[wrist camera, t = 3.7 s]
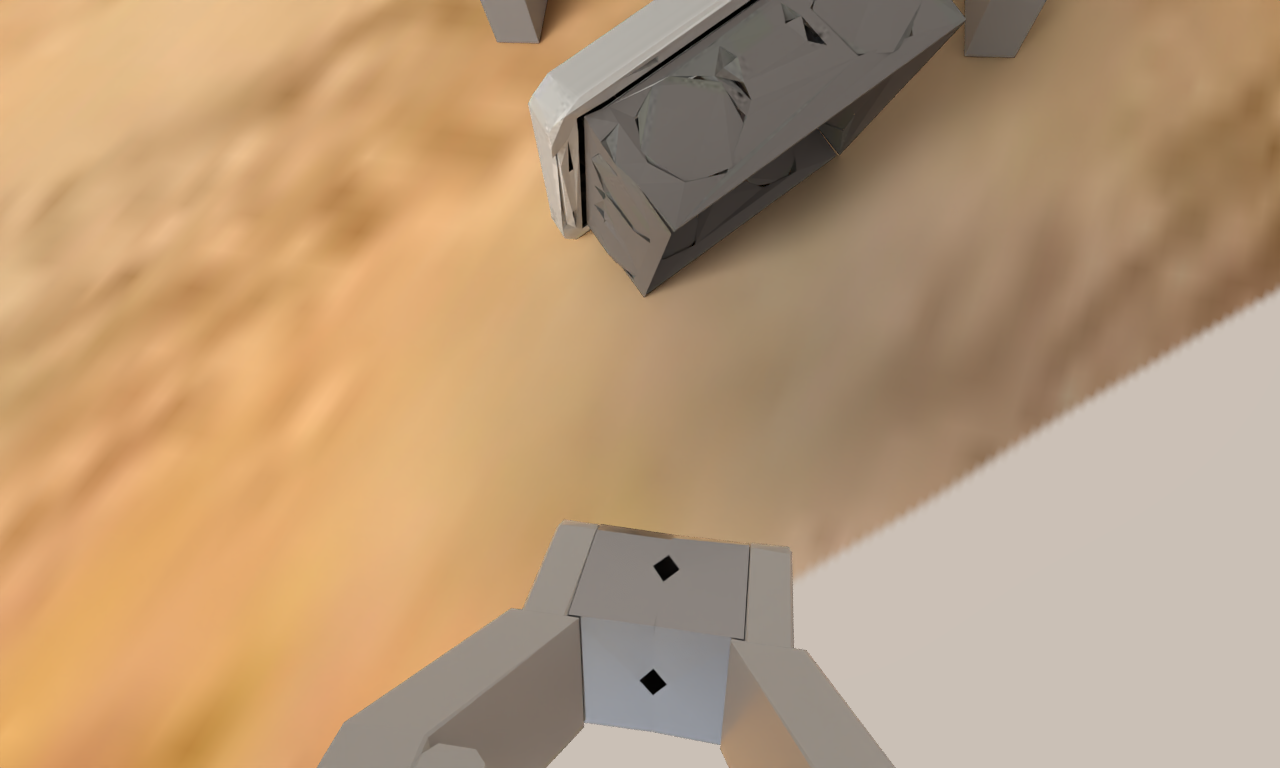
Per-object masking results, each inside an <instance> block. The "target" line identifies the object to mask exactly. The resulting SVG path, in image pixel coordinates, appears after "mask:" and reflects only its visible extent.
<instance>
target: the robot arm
mask: <svg viewBox="0 0 1280 768" xmlns="http://www.w3.org/2000/svg"><path fill="white" fill-rule="evenodd" d="M793 633H794V629H793V581H792V552H791V550H790V548H789V547H786V546H776V545H767V544H757V543H751V544H750V547H749V543H741V542H733V541H724V540H715V539H706V538H698V537H689V536H680V535H672V534H665V533H658V532H652V531H645V530H638V529H631V528H624V527H617V526H610V525H604V524H601V525H598V524H592V523H585V522H578V521H571V520H563V521H562V522H561V523H560V524H559V525H558V526H557V528H556V530H555V533H554V535H553V538H552V540H551V542H550V545H549V547H548V549H547V552H546V554H545V557H544V559H543V561H542V564H541V566H540V569H539V571H538V573H537V576H536V578H535V580H534V583H533V585H532V588H531V590H530V592H529V595H528V597H527V599H526V602H525V604H524V607H523V609H514V608H510V609H509V610H508V611H506V612H505V613H503V614H502V615H500V616H499V617H497V618H496V619H494V620H493V621H492V622H490V623H489V624H487V625H486V626H484V627H483V628H481V629H480V630H478V631H477V632H475V633H474V634H473V635H471V636H470V637H468V638H467V639H465V640H464V641H462V642H461V643H459V644H458V645H456V646H455V647H454V648H452V649H451V650H449V651H448V652H446V653H445V654H443V655H442V656H440V657H439V658H437V659H436V660H435V661H433V662H432V663H430V664H429V665H427V666H426V667H424V668H423V669H421V670H420V671H418V672H417V673H416V674H414V675H413V676H411V677H410V678H408V679H407V680H405V681H404V682H402V683H401V684H399V685H398V686H397V687H395V688H394V689H392V690H391V691H389V692H388V693H386V694H385V695H383V696H382V697H381V698H379V699H378V700H376V701H375V702H373V703H372V704H370V705H369V706H367V707H366V708H364V709H363V710H362V711H360V712H359V713H357V714H356V715H354V716H353V717H351V718H350V719H348V720H347V721H345V722H344V723H343V725H342V727H341V728H340V730H339V732H338V733H337V735H336V737H335V738H334V740H333V742H332V743H331V745H330V747H329V748H328V750H327V752H326V753H325V755H324V757H323V758H322V760H321V762H320V763H319V765H318V767H317V768H546V767H547V766H548V765H549V764H550V763H551V762H552V761H553V760H554V759H555V758H556V757H557V756H558V754H559V753H560V752H561V751H562V750H563V749H564V748H565V747H566V746H567V745H568V744H569V743H570V742H571V741H572V740H573V738H574V737H575V736H576V735H577V734H578V733H579V732H580V731H581V730H582V729H583V728H584V723H590V724H597V725H604V726H612V727H619V728H627V729H634V730H641V731H650V732H655V733H660V734H665V735H670V736H675V737H681V738H686V739H691V740H696V741H702V742H707V743H712V744H717V745H721V746H720V749H721V751H722V754H723V756H724V758H725V760H726V762H727V765H728V766H729V768H895V767H894V765H893V764H892V763H891V761H890V760H889V759H888V758H887V756H886V755H885V753H884V752H883V751H882V749H881V748H880V747H879V746H878V744H877V743H876V742H875V740H874V739H873V738H872V736H871V735H870V734H869V732H868V731H867V730H866V728H865V727H864V726H863V724H862V723H861V722H860V720H859V719H858V718H857V716H856V715H855V714H854V713H853V711H852V710H851V708H850V707H849V706H848V705H847V703H846V702H845V701H844V699H843V698H842V697H841V695H840V694H839V693H838V691H837V690H836V689H835V687H834V686H833V685H832V683H831V682H830V681H829V679H828V678H827V677H826V675H825V674H824V673H823V672H822V670H821V669H820V668H819V666H818V665H817V664H816V662H815V661H814V660H813V658H812V657H811V656H810V654H809V653H808V652H807V650H802V649H795V648H794V634H793Z"/></svg>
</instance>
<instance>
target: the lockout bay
mask: <svg viewBox="0 0 1280 768" xmlns="http://www.w3.org/2000/svg"><path fill="white" fill-rule="evenodd" d="M480 1H481V3H482V6H483V8H484V11H485V13H486V16H487V18H488V20H489V23H490V25H491V28H492V30H493V33H494V35H495V38H496V40H497V42H511V43H539V41H540V36H541V31H542V25H543V20H544V15H545V10H546V5H547V0H480ZM1045 2H1046V0H965V18H966V21H965V50H964V56H982V57H1015V55H1016V53H1017V52H1018V50H1019V48H1020V46H1021V45H1022V43H1023V41H1024V39H1025V37H1026V36H1027V34H1028V32H1029V30H1030V29H1031V27H1032V25H1033V23H1034V21H1035V20H1036V18H1037V16H1038V14H1039V13H1040V11H1041V9H1042V7H1043V5H1044V4H1045Z"/></svg>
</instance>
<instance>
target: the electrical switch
mask: <svg viewBox="0 0 1280 768" xmlns="http://www.w3.org/2000/svg"><path fill="white" fill-rule="evenodd" d="M965 21H966V18H965V17H964V16H963V14H962V13H961V12H960V10H959V9H958V8H957V7H956V5H955V4H954V3H953V1H952V0H654V1H652V2H651V3H649V4H648V5H646V6H645V7H643V8H642V9H641V10H639V11H638V12H636V13H635V14H633V15H632V16H630V17H629V18H628V19H626V20H625V21H623V22H622V23H620V24H619V25H617V26H616V27H614V28H613V29H612V30H610V31H609V32H607V33H606V34H604V35H603V36H601V37H600V38H598V39H597V40H596V41H594V42H593V43H591V44H590V45H588V46H587V47H585V48H584V49H582V50H581V51H580V52H578V53H577V54H575V55H574V56H572V57H571V58H569V59H568V60H566V61H565V62H564V63H562V64H561V65H559V66H558V67H556V68H555V69H553V70H552V71H550V72H549V73H548V74H547V75H546V77H545V78H544V80H543V81H542V82H541V84H540V85H539V87H538V88H537V89H536V91H535V92H534V93H533V95H532V97H531V99H530V101H529V103H528V105H529V110H530V115H531V119H532V124H533V129H534V134H535V139H536V143H537V148H538V153H539V158H540V163H541V167H542V172H543V177H544V182H545V187H546V191H547V196H548V201H549V206H550V211H551V217H552V219H553V221H554V222H555V224H556V225H557V227H558V228H559V230H560V232H561V233H562V235H563V236H564V238H566V239H578V238H579V237H580V236H582V235H583V234H585V233H586V232H587V231H589V230H590V229H591V230H592V232H593V233H594V235H595V236H596V237H597V239H598V240H599V242H600V243H601V245H602V246H603V247H604V249H605V250H606V252H607V253H608V254H609V255H610V256H611V257H612V258H613V259H614V261H615V262H616V263H618V264H619V265H620V266H622V268H623V269H624V270H625V272H626V273H627V275H628V276H629V277H630V279H631V280H632V282H633V283H634V284H635V286H636V287H637V288H638V290H639V291H640V293H641V294H642V295H643V297H645V295H646V294H648V293H649V292H651V291H652V290H653V289H655V288H656V287H657V286H659V285H660V284H662V283H663V282H664V281H666V280H667V279H668V278H670V277H671V276H672V275H674V274H675V273H677V272H678V271H679V270H681V269H682V268H683V267H685V266H686V265H688V264H689V263H690V262H692V261H693V260H694V259H696V258H697V257H698V256H700V255H701V254H703V253H704V252H705V251H707V250H708V249H709V248H711V247H712V246H714V245H715V244H716V243H718V242H719V241H720V240H722V239H723V238H725V237H726V236H727V235H729V234H730V233H731V232H733V231H734V230H735V229H737V228H738V227H740V226H741V225H742V224H744V223H745V222H746V221H748V220H749V219H751V218H752V217H753V216H755V215H756V214H757V213H759V212H760V211H761V210H763V209H764V208H766V207H767V206H768V205H770V204H771V203H772V202H774V201H775V200H777V199H778V198H779V197H781V196H782V195H783V194H785V193H786V192H787V191H789V190H790V189H792V188H793V187H794V186H796V185H797V184H798V183H800V182H801V181H803V180H804V179H805V178H807V177H808V176H809V175H811V174H812V173H814V172H815V171H816V170H818V169H819V168H820V167H822V166H823V165H824V164H826V163H827V162H829V161H830V160H831V159H833V158H834V157H835V156H836V154H835V153H834V151H833V150H832V148H831V147H830V145H829V144H828V142H827V141H826V140H825V138H826V139H827V140H828V141H829V142H830V144H831V145H832V146H833V147H834V149H835V150H836V151H837V152H838V154H839V155H840V154H841V153H842V152H843V151H844V150H845V149H846V148H847V146H848V145H849V144H850V143H851V142H852V141H853V140H854V139H855V138H856V137H857V136H858V135H859V134H860V133H861V132H862V131H863V129H864V128H865V127H866V126H867V125H868V124H869V123H870V122H871V121H872V120H873V119H874V118H875V117H876V116H877V115H878V114H879V112H880V111H881V110H882V109H883V108H884V107H885V106H886V105H887V104H888V103H889V102H890V101H891V100H892V99H893V98H894V97H895V95H896V94H897V93H898V92H899V91H900V90H901V89H902V88H903V87H904V86H905V85H906V84H907V83H908V82H909V81H910V80H911V78H912V77H913V76H914V75H915V74H916V73H917V72H918V71H919V70H920V69H921V68H922V67H923V66H924V65H925V64H926V63H927V61H928V60H929V59H930V58H931V57H932V56H933V55H934V54H935V53H936V52H937V51H938V50H939V49H940V48H941V47H942V46H943V44H944V43H945V42H946V41H947V40H948V39H949V38H950V37H951V36H952V35H953V34H954V33H955V32H956V31H957V30H958V29H959V27H960V26H961V25H962V24H963V23H964V22H965ZM818 129H819V130H820V131H821V132H820V131H819V130H818ZM821 133H822V134H823V135H824V136H825V138H824V137H823V135H822V134H821ZM790 170H791V171H790ZM789 172H790V175H788V174H789ZM716 173H718V174H719V175H714V174H716ZM711 175H714V176H711ZM745 180H748V181H749V182H747V181H745ZM770 183H771V184H770ZM764 184H769V185H767V186H765V187H760V186H758V185H764ZM697 215H698V216H697ZM694 241H695V245H694V246H692V247H690V246H691V245H692V244H693V242H694ZM689 247H690V248H689Z"/></svg>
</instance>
